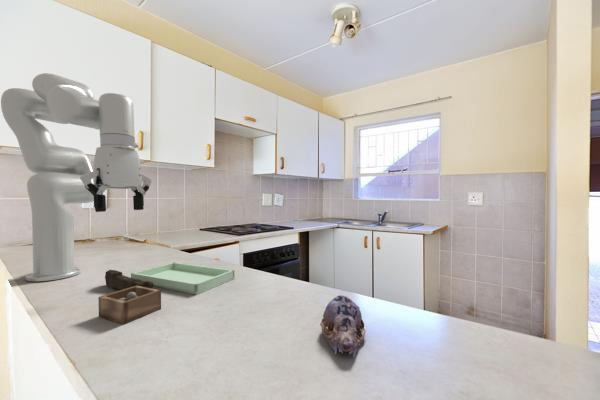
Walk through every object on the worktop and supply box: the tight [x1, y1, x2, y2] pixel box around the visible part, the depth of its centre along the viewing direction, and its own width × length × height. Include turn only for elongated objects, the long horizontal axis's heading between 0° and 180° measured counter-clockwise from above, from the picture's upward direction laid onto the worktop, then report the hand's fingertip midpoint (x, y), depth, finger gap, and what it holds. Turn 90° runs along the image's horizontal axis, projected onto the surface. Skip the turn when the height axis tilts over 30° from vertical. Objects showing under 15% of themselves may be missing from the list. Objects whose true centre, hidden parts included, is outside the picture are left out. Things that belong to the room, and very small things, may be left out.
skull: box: [319, 295, 366, 358], centre depth 47 cm, size 12×8×6 cm, turn 167°
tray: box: [130, 261, 235, 295], centre depth 81 cm, size 25×15×2 cm, turn 65°
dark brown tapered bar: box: [104, 269, 155, 291], centre depth 72 cm, size 19×4×5 cm, turn 57°
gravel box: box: [98, 285, 162, 325], centre depth 58 cm, size 8×8×4 cm
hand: (120, 210), depth 72 cm, fingers open, 9 cm apart
